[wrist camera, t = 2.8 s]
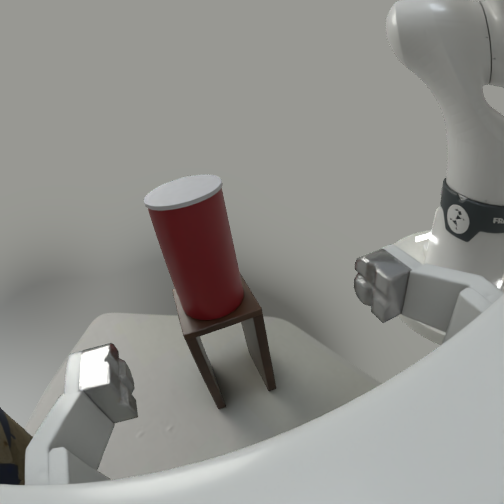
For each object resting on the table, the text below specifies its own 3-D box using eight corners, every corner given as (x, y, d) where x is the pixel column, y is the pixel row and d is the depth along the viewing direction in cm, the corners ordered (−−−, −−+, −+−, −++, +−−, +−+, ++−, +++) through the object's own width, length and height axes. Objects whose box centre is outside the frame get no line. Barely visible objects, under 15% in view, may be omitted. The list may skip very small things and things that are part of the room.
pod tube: (233, 271, 27) (211, 169, 22) (254, 306, 23) (231, 188, 18) (176, 290, 26) (142, 189, 21) (188, 330, 21) (145, 214, 17)
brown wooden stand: (255, 348, 33) (237, 267, 27) (276, 388, 28) (261, 308, 22) (203, 366, 32) (171, 289, 26) (218, 409, 27) (183, 335, 21)
